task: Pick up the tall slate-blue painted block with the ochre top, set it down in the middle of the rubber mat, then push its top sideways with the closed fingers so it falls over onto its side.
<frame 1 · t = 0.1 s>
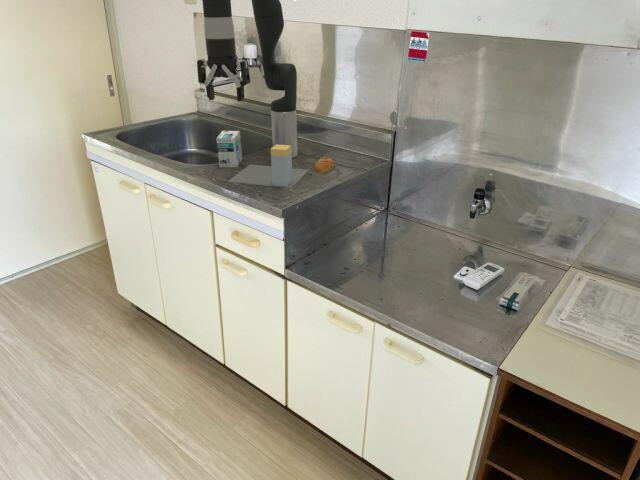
hand: (225, 100, 132), 29 cm above the worktop, fingers open, 8 cm apart
block: (282, 183, 155), resting on mat
mat: (269, 176, 162), on the worktop
pastry: (324, 170, 168), on the worktop
light bulb box: (231, 163, 175), on the worktop
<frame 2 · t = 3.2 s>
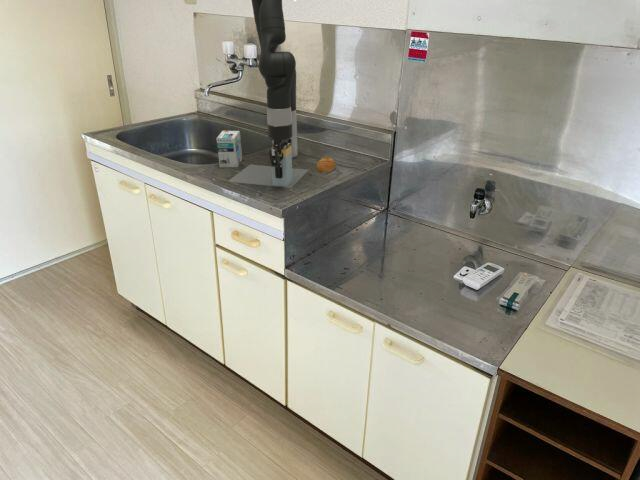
hand: (282, 174, 153), 3 cm above the worktop, fingers closed on block, 5 cm apart
block: (282, 183, 155), resting on mat, touching gripper
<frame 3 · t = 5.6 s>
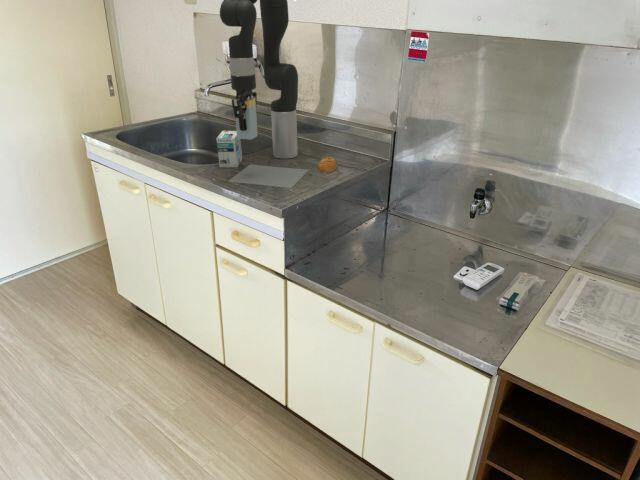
hand: (246, 128, 154), 17 cm above the worktop, fingers closed on block, 5 cm apart
block: (247, 137, 155), point 14 cm above the worktop, touching gripper
when the fingers open (4 cm above the worktop, at t = 8.2 s): block stays where it is, resting on mat.
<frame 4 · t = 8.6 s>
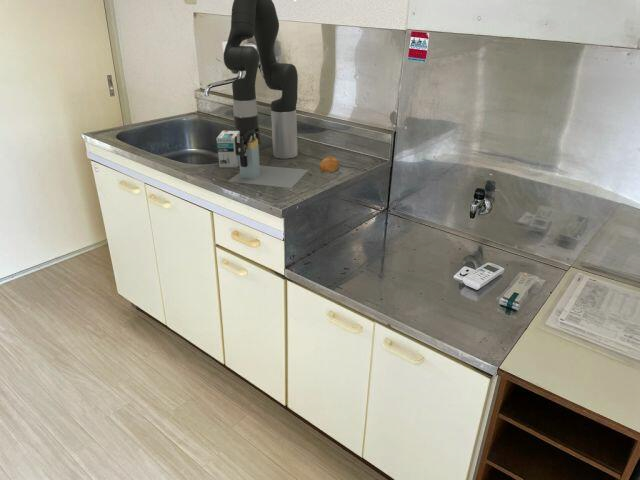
hand: (249, 162, 159), 5 cm above the worktop, fingers open, 8 cm apart
block: (250, 175, 162), resting on mat
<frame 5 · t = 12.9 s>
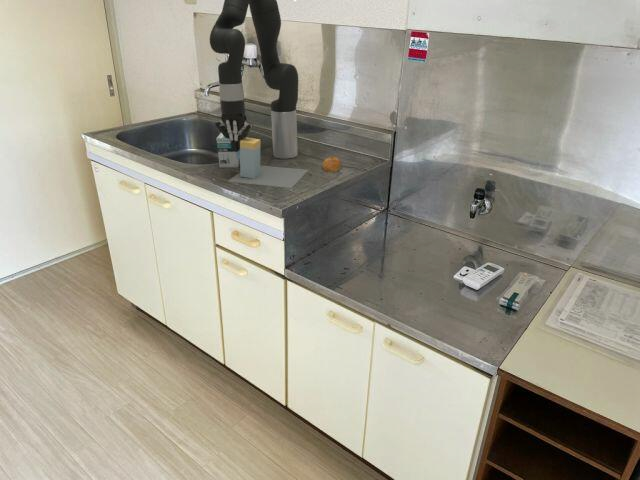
hand: (236, 151, 159), 9 cm above the worktop, fingers closed
block: (250, 175, 161), point 1 cm above the worktop, touching gripper, mat
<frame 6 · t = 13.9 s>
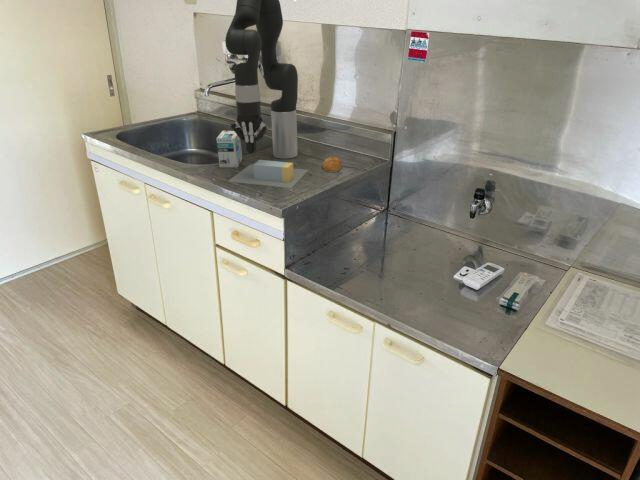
hand: (251, 152, 158), 8 cm above the worktop, fingers closed
block: (256, 169, 160), point 3 cm above the worktop, tilted 90°, touching mat
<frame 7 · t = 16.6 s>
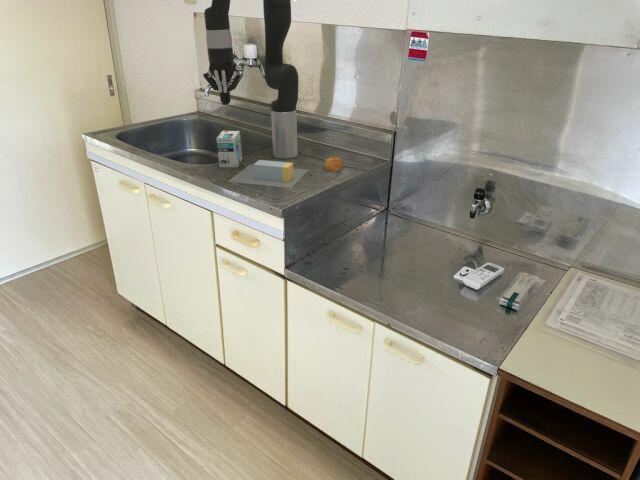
hand: (226, 104, 152), 24 cm above the worktop, fingers closed
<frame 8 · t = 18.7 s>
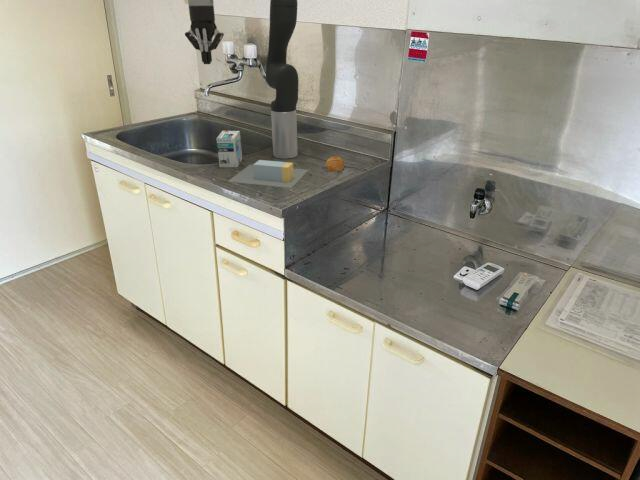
hand: (207, 63, 155), 35 cm above the worktop, fingers closed
at the end: block tilted 90°; block inside the target area on the mat (3.5 cm from its centre), point 3.0 cm above the mat's base; the gripper is holding nothing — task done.
